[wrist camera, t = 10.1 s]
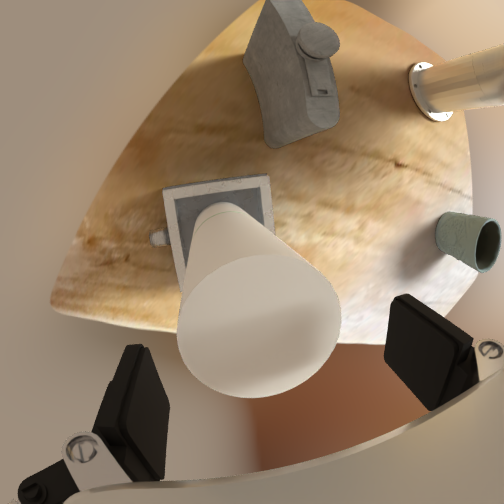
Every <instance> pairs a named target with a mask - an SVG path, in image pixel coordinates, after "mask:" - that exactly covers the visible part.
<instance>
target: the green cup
mask: <svg viewBox="0 0 504 504" xmlns="http://www.w3.org/2000/svg"><path fill="white" fill-rule="evenodd" d="M435 239H436V244H437V246H438V248H439V249H440V250H441V251H442V252H444V253H446V254H448V255H451V256H453V257H455V258H456V259H457V260H461V261H462V262H463V263H465V264H467V265H468V266H470V267H472V268H473V269H475V270H477V271H479V272H481V273H484V272H487V271H489V270H490V269H491V268H492V266H493V265H494V264H495V262H496V259H497V257H498V255H499V251H500V247H501V229H500V226H499V224H498V222H497V221H496V220H495V219H491V218H487V217H480V216H475V215H467V214H462V213H455V212H447V213H445V214H444V215H442V217H441V218H440V220H439V222H438V224H437V227H436V233H435Z"/></svg>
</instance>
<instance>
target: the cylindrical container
mask: <svg viewBox="0 0 504 504" xmlns="http://www.w3.org/2000/svg"><path fill="white" fill-rule="evenodd" d="M340 328H341V307H340V303H339V299H338V296H337V294H336V292H335V290H334V288H333V286H332V285H331V283H330V282H329V281H328V280H327V279H326V277H325V276H324V275H323V274H322V273H321V272H320V271H319V270H318V269H316V268H315V267H314V266H313V265H311V264H310V263H309V262H308V261H307V260H305V259H304V258H303V257H302V256H300V255H299V254H298V253H297V252H295V251H294V250H293V249H292V248H290V247H289V246H288V245H287V244H286V243H284V242H283V241H282V240H281V239H279V238H278V237H277V236H276V235H274V234H273V233H272V232H270V231H269V230H268V229H267V228H265V227H264V226H263V225H262V224H260V223H259V222H258V221H257V220H255V219H254V218H253V217H251V216H250V215H249V214H248V213H246V212H245V211H244V210H243V209H241V208H240V207H238V206H237V205H235V204H232V203H228V202H218V203H214V204H211V205H209V206H208V207H206V208H205V209H204V210H203V211H202V212H201V213H200V214H199V216H198V217H197V220H196V222H195V226H194V231H193V236H192V241H191V246H190V252H189V257H188V262H187V268H186V274H185V279H184V285H183V291H182V298H181V304H180V310H179V317H178V325H177V342H178V348H179V351H180V354H181V356H182V360H183V361H184V363H185V364H186V366H187V367H188V369H189V371H190V372H191V373H192V374H193V375H194V376H195V377H196V378H197V379H198V380H199V381H200V382H202V383H203V384H205V385H207V386H208V387H210V388H211V389H213V390H215V391H218V392H221V393H223V394H226V395H231V396H235V397H242V398H258V397H267V396H271V395H275V394H279V393H282V392H284V391H287V390H289V389H291V388H294V387H296V386H297V385H299V384H301V383H302V382H304V381H306V380H307V379H308V378H310V377H311V376H312V375H313V374H314V373H315V372H317V371H318V370H319V368H320V367H321V366H322V365H323V364H324V363H325V361H326V360H327V359H328V357H329V356H330V354H331V352H332V351H333V349H334V347H335V345H336V342H337V340H338V337H339V333H340Z"/></svg>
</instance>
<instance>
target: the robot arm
mask: <svg viewBox="0 0 504 504" xmlns="http://www.w3.org/2000/svg"><path fill="white" fill-rule="evenodd" d="M409 85H410V90H411V93H412V96H413V98H414V100H415V102H416V104H417V105H418V107H419V108H420V110H421V111H422V112H423V113H424V114H425V115H426V116H427V117H428V118H430V119H432V120H434V121H440V122H441V121H445V120H447V119H449V118H450V116H451V114H452V112H455V111H462V110H468V109H476V108H485V107H495V106H503V105H504V43H503V44H501V45H499V46H495V47H492V48H489V49H485V50H482V51H478V52H475V53H472V54H468V55H465V56H461V57H458V58H455V59H452V60H449V61H446V62H443V63H440V64H437V65H434V66H433V65H431V64H429V63H426V62H420V63H417V64H415V65H414V66H413V67H412V68H411V70H410V72H409ZM472 342H473V338H472V337H471V336H470V335H468V334H467V333H465V332H464V331H462V330H461V329H460V328H458V327H457V326H455V325H454V324H452V323H451V322H450V321H448V320H447V319H445V318H444V317H443V316H441V315H440V314H438V313H437V312H435V311H434V310H432V309H431V308H429V307H428V306H426V305H425V304H423V303H422V302H420V301H419V300H417V299H416V298H414V297H413V296H411V295H410V294H403V295H400V296H396V297H395V298H394V300H393V301H392V302H391V305H390V315H389V323H388V331H387V338H386V344H385V351H384V360H385V362H386V363H387V364H388V365H389V367H390V368H391V369H392V370H393V371H394V372H395V373H396V374H397V376H398V377H399V378H400V379H401V380H402V381H403V382H404V383H405V384H406V386H407V387H408V388H409V389H410V390H411V391H412V392H413V394H414V395H415V396H416V397H417V398H418V399H419V400H420V401H421V402H422V404H423V405H424V406H425V407H426V408H427V409H428V410H429V411H431V412H429V413H428V414H426V415H424V416H422V417H420V418H418V419H416V420H414V421H412V422H410V423H408V424H406V425H404V426H402V427H400V428H398V429H395V430H393V431H391V432H389V433H387V434H385V435H382V436H380V437H377V438H375V439H372V440H370V441H367V442H365V443H362V444H360V445H357V446H354V447H351V448H348V449H346V450H343V451H340V452H337V453H334V454H330V455H327V456H324V457H321V458H317V459H314V460H310V461H307V462H302V463H299V464H295V465H291V466H286V467H282V468H277V469H272V470H267V471H262V472H256V473H250V474H243V475H236V476H228V477H220V478H210V479H199V480H182V481H160V480H162V479H164V476H165V458H166V444H167V433H168V421H169V411H170V404H169V400H168V397H167V395H166V393H165V390H164V388H163V385H162V383H161V380H160V378H159V375H158V372H157V370H156V367H155V364H154V362H153V359H152V356H151V353H150V350H149V349H148V347H145V348H144V346H143V345H142V344H134V345H127V346H126V348H125V350H124V353H123V355H122V357H121V360H120V363H119V365H118V367H117V370H116V373H115V375H114V378H113V380H112V381H110V383H109V384H108V387H107V390H106V392H105V395H104V398H103V401H102V403H101V406H100V409H99V411H98V415H97V417H96V420H95V423H94V426H93V429H92V432H86V431H85V432H79V433H76V434H73V435H72V436H70V437H69V438H68V439H67V440H66V441H65V442H64V444H63V446H62V456H63V459H62V460H60V461H58V462H56V463H55V464H53V465H51V466H49V467H48V468H45V469H44V470H42V471H40V472H38V473H36V474H34V475H32V476H30V477H28V478H26V479H25V480H23V481H22V483H21V484H20V486H19V489H18V498H19V500H18V501H16V500H14V499H13V500H12V501H11V502H10V503H8V504H504V346H503V345H502V344H501V343H500V342H498V341H495V340H493V339H483V340H480V341H478V342H477V343H476V345H475V347H472V346H471V345H472Z"/></svg>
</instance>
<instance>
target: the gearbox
mask: <svg viewBox="0 0 504 504" xmlns="http://www.w3.org/2000/svg"><path fill="white" fill-rule="evenodd" d="M162 192H163V199H164V206H165V212H166V218H167V225H168V227H167V228H161V229H155V230H150V232H149V238H150V243H151V246H152V248H155V247H161V246H167V245H171V247H172V253H173V258H174V263H175V268H176V273H177V278H178V283H179V287H180V292H182V291H183V285H184V279H185V274H186V268H187V262H188V257H189V252H190V246H191V241H192V236H193V231H194V226H195V222H196V220H197V217H198V216H199V214H200V213H201V212H202V211H203V210H204V209H205V208H206V207H208V206H209V205H211V204H214V203H218V202H228V203H232V204H235V205H237V206H238V207H240V208H241V209H243V210H244V211H245V212H246V213H248V214H249V215H250V216H251V217H253V218H254V219H255V220H257V221H258V222H259V223H260V224H262V225H263V226H264V227H265V228H267V229H268V230H269V231H270V232H272V233H273V234H274V235H275V226H274V216H273V206H272V197H271V188H270V178H269V176H267V174H257V175H248V176H239V177H231V178H224V179H216V180H209V181H202V182H196V183H189V184H183V185H177V186H171V187H165V188H163V191H162Z"/></svg>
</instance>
